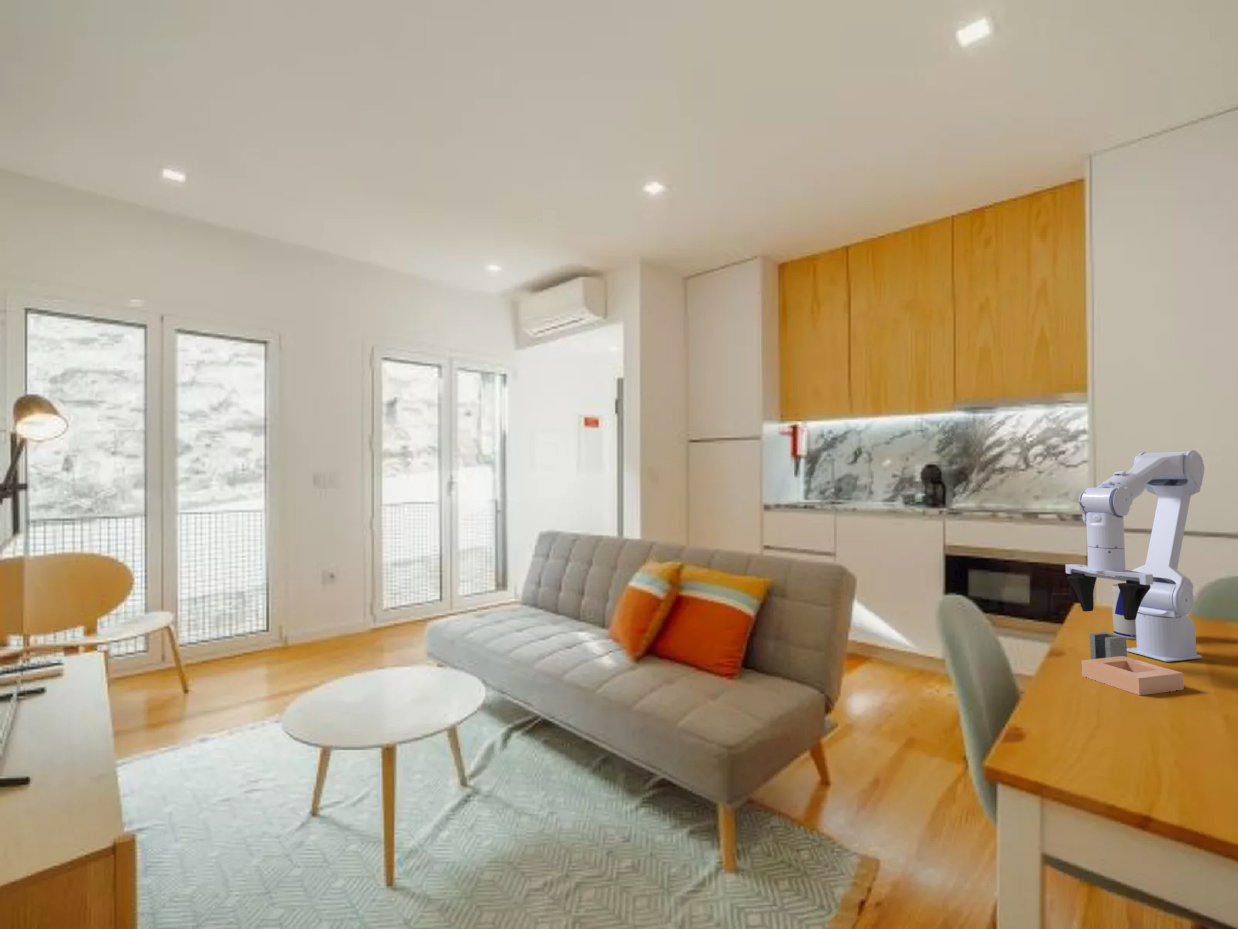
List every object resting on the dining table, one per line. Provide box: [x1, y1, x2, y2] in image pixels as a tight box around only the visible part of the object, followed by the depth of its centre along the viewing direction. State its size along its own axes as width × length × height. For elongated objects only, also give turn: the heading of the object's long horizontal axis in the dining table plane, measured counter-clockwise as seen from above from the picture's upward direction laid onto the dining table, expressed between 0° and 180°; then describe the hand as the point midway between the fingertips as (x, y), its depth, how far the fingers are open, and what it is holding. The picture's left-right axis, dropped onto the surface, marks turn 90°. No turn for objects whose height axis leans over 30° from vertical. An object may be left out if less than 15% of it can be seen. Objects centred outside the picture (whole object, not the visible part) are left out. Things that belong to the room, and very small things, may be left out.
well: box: [1081, 656, 1185, 696], centre depth 104 cm, size 10×10×3 cm
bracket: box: [1089, 631, 1128, 659], centre depth 114 cm, size 4×4×6 cm
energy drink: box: [1111, 583, 1136, 641], centre depth 133 cm, size 5×5×12 cm
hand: (1108, 615), depth 112 cm, fingers open, 7 cm apart
